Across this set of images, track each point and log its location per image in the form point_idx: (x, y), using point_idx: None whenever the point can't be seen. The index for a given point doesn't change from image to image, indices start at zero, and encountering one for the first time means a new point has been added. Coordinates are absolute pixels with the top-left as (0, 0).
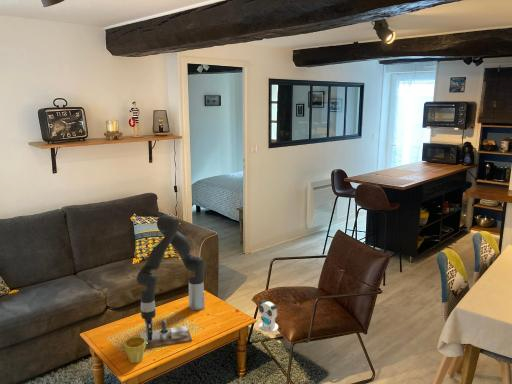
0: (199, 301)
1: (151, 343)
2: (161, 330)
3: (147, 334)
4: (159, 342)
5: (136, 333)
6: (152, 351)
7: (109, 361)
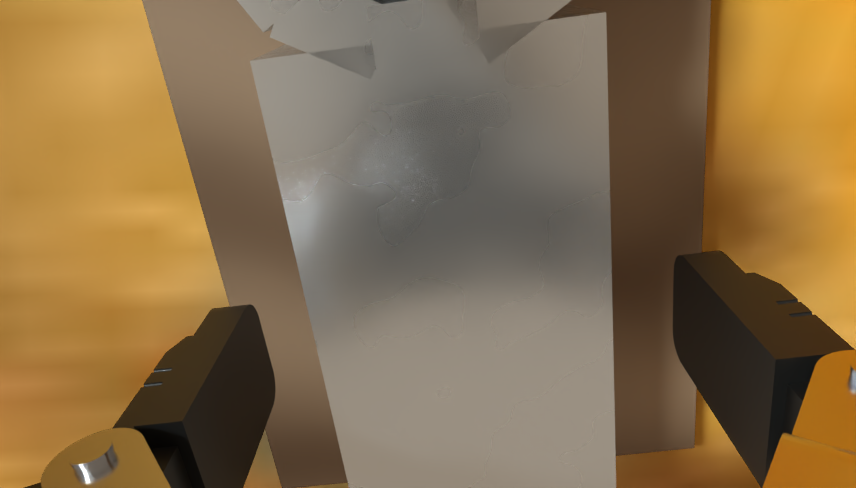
0: None
1: None
2: None
3: (510, 403)
4: (620, 18)
5: None
6: (843, 171)
7: None
